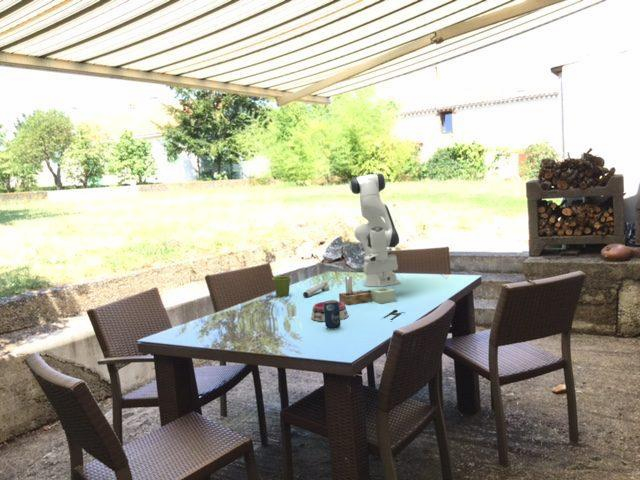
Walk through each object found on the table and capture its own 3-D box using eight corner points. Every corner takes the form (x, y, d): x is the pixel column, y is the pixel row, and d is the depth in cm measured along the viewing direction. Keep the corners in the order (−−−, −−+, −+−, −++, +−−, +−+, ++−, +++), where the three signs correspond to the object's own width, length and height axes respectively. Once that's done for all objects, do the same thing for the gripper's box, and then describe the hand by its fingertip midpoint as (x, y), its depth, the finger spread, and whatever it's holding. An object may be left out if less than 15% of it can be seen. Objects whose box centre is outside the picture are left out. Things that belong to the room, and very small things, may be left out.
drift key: (376, 297, 298) (376, 288, 298) (378, 298, 296) (378, 289, 296) (357, 300, 294) (356, 291, 294) (359, 301, 292) (358, 292, 292)
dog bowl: (356, 315, 261) (355, 302, 260) (331, 324, 248) (329, 310, 247) (328, 311, 274) (327, 299, 273) (303, 320, 260) (302, 306, 260)
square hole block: (387, 298, 295) (386, 287, 294) (395, 301, 285) (395, 290, 285) (371, 300, 292) (370, 289, 291) (379, 303, 282) (378, 292, 282)
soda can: (335, 329, 236) (333, 303, 235) (322, 328, 240) (320, 302, 239) (343, 326, 242) (341, 300, 241) (330, 325, 245) (328, 299, 244)
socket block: (362, 297, 301) (361, 290, 300) (371, 301, 289) (370, 293, 289) (339, 301, 296) (338, 293, 296) (347, 305, 285) (346, 297, 284)
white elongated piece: (301, 291, 316) (322, 278, 336) (303, 302, 317) (324, 288, 337) (308, 291, 313) (329, 278, 333) (310, 302, 314) (331, 288, 335)
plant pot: (270, 297, 324) (268, 279, 323) (278, 293, 335) (277, 276, 334) (287, 297, 319) (285, 279, 318) (295, 293, 330) (294, 276, 329)
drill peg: (351, 301, 294) (350, 276, 293) (354, 302, 291) (352, 277, 289) (345, 302, 293) (344, 277, 292) (348, 303, 289) (346, 278, 288)
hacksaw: (394, 312, 263) (394, 309, 262) (413, 313, 257) (413, 310, 257) (372, 324, 242) (372, 321, 242) (392, 325, 237) (392, 322, 237)
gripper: (393, 252, 303) (395, 276, 304) (361, 258, 296) (363, 282, 297) (398, 253, 297) (401, 278, 298) (366, 259, 290) (368, 284, 291)
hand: (382, 280), depth 298 cm, fingers closed
